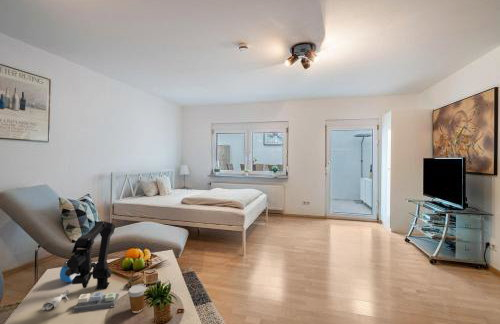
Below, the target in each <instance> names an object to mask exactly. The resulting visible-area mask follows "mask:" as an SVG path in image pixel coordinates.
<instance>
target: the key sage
mask: <svg viewBox="0 0 500 324" xmlns="http://www.w3.org/2000/svg"><path fill="white" fill-rule="evenodd" d="M116 294H117V292H108V293H106V297H105V302H107V301H114V299H115V297H116Z"/></svg>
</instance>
